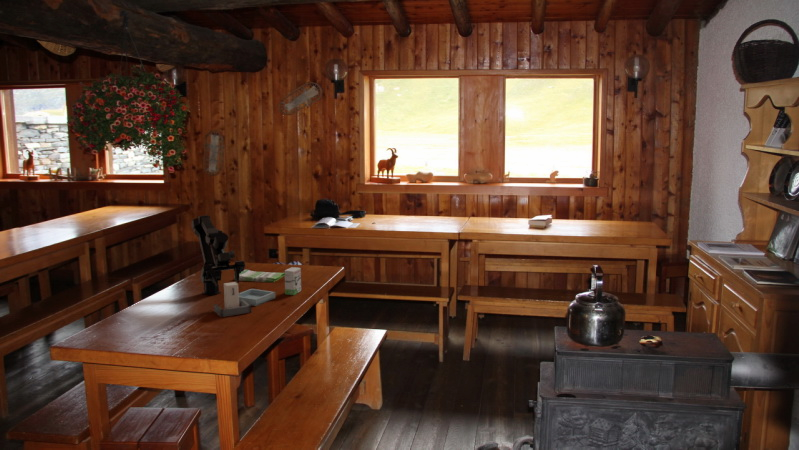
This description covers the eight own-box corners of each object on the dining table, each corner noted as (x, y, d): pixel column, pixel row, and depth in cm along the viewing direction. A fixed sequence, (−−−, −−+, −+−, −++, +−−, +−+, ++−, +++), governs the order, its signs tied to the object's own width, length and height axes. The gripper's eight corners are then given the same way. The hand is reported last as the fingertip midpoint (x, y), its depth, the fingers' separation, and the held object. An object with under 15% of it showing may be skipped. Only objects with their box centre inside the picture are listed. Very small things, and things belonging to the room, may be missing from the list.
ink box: (294, 295, 317) (293, 271, 315) (284, 294, 318) (283, 270, 316) (301, 290, 325) (301, 267, 323) (292, 290, 326) (291, 266, 324)
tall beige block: (225, 310, 293) (223, 283, 291) (236, 309, 295) (234, 281, 293) (229, 314, 288) (227, 286, 285) (240, 312, 290) (239, 285, 288)
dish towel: (246, 273, 361) (245, 267, 361) (286, 275, 357) (286, 269, 356) (232, 281, 345) (232, 275, 344) (274, 283, 340) (274, 276, 340)
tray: (232, 302, 306) (231, 295, 306) (252, 294, 318) (251, 288, 318) (256, 306, 300) (255, 299, 299) (275, 298, 312) (275, 292, 311)
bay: (214, 310, 293) (213, 304, 292) (243, 306, 299) (243, 299, 299) (220, 317, 284) (220, 310, 283) (251, 312, 290) (251, 305, 290)
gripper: (201, 247, 291) (209, 277, 283) (243, 243, 300) (252, 271, 293) (197, 261, 299) (205, 290, 291) (238, 256, 308) (247, 285, 301)
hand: (228, 284), depth 294 cm, fingers open, 9 cm apart
